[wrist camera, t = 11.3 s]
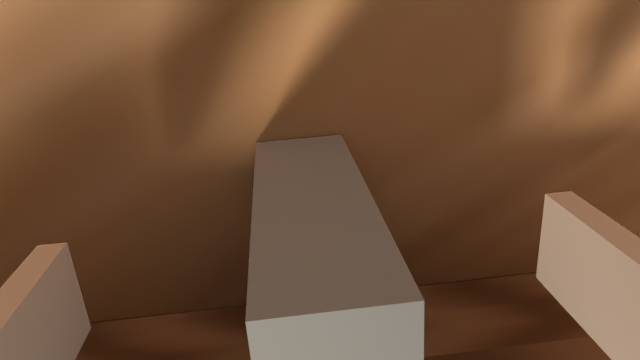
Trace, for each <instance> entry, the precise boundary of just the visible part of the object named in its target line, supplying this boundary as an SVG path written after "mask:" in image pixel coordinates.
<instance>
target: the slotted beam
mask: <svg viewBox="0 0 640 360" xmlns="http://www.w3.org/2000/svg"><path fill="white" fill-rule="evenodd" d="M417 287H418V289H419V291H420V293H421V295H422V297H423V299H424V360H611V359H610V358H609V356H608V355H607V354H606V353H605V352H604V351H603V350H602V349H601V348H600V347H599V346H598V344H597V343H596V342H595V341H594V340H593V339H592V338H591V337H590V336H589V335H588V334H587V332H586V331H585V330H584V329H583V328H582V327H581V326H580V325H579V324H578V323H577V322H576V320H575V319H574V318H573V317H572V316H571V315H570V314H569V313H568V312H567V311H566V310H565V308H564V307H563V306H562V305H561V304H560V303H559V302H558V301H557V300H556V299H555V298H554V296H553V295H552V294H551V293H550V292H549V291H548V290H547V289H546V288H545V287H544V286H543V284H542V283H541V282H540V281H539V280H538V279H537V278H536V273H530V274H521V275H512V276H503V277H495V278H486V279H477V280H468V281H459V282H450V283H441V284H433V285H424V286H417ZM245 318H246V306H238V307H229V308H220V309H211V310H202V311H193V312H184V313H176V314H167V315H158V316H149V317H140V318H131V319H122V320H114V321H105V322H96V323H90V325H91V329H90V331H89V333H88V335H87V337H86V339H85V341H84V343H83V345H82V347H81V349H80V351H79V353H78V355H77V357H76V359H75V360H251V357H250V350H249V343H248V337H247V330H246V323H245Z"/></svg>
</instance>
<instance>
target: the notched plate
mask: <svg viewBox="0 0 640 360" xmlns="http://www.w3.org/2000/svg"><path fill="white" fill-rule="evenodd" d="M245 323H246V330H247V337H248V343H249V350H250V357H251V360H424V299H423V297H422V295H421V293H420V291H419V289H418V287H417V285H416V283H415V281H414V279H413V277H412V275H411V273H410V271H409V269H408V267H407V265H406V263H405V261H404V259H403V257H402V255H401V253H400V251H399V249H398V247H397V245H396V243H395V241H394V239H393V237H392V235H391V233H390V231H389V229H388V227H387V225H386V223H385V221H384V219H383V217H382V215H381V213H380V211H379V209H378V207H377V205H376V203H375V201H374V199H373V197H372V195H371V193H370V191H369V189H368V187H367V185H366V183H365V181H364V179H363V177H362V175H361V172H360V170H359V168H358V166H357V164H356V162H355V160H354V158H353V156H352V154H351V152H350V150H349V148H348V146H347V144H346V142H345V140H344V138H343V136H342V134H340V135H330V136H319V137H308V138H298V139H287V140H277V141H266V142H256V150H255V167H254V184H253V201H252V217H251V234H250V251H249V268H248V285H247V302H246V318H245Z"/></svg>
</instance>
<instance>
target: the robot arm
mask: <svg viewBox="0 0 640 360" xmlns="http://www.w3.org/2000/svg"><path fill="white" fill-rule="evenodd" d="M536 278H537V279H538V280H539V281H540V282H541V283H542V284H543V286H544V287H545V288H546V289H547V290H548V291H549V292H550V293H551V294H552V295H553V296H554V298H555V299H556V300H557V301H558V302H559V303H560V304H561V305H562V306H563V307H564V308H565V310H566V311H567V312H568V313H569V314H570V315H571V316H572V317H573V318H574V319H575V320H576V322H577V323H578V324H579V325H580V326H581V327H582V328H583V329H584V330H585V331H586V332H587V334H588V335H589V336H590V337H591V338H592V339H593V340H594V341H595V342H596V343H597V344H598V346H599V347H600V348H601V349H602V350H603V351H604V352H605V353H606V354H607V355H608V356H609V358H610V359H611V360H640V238H639V237H638V236H636V235H635V234H633V233H632V232H630V231H629V230H627V229H626V228H625V227H623V226H622V225H620V224H619V223H617V222H616V221H614V220H613V219H611V218H610V217H608V216H607V215H605V214H604V213H603V212H601V211H600V210H598V209H597V208H595V207H594V206H592V205H591V204H589V203H588V202H586V201H585V200H584V199H582V198H581V197H579V196H578V195H576V194H575V193H573V192H572V191H567V192H557V193H547V194H545V200H544V209H543V218H542V227H541V236H540V245H539V254H538V263H537V272H536ZM90 329H91V325H90V322H89V318H88V315H87V311H86V308H85V304H84V300H83V297H82V293H81V290H80V286H79V283H78V279H77V276H76V272H75V269H74V265H73V261H72V258H71V254H70V251H69V247H68V244H67V242H65V243H55V244H46V245H37V246H36V247H35V248H34V250H33V251H32V252H31V253H30V254H29V255H28V256H27V258H26V259H25V260H24V261H23V262H22V263H21V265H20V266H19V267H18V268H17V269H16V270H15V271H14V273H13V274H12V275H11V276H10V277H9V278H8V280H7V281H6V282H5V283H4V284H3V285H2V286H1V288H0V360H75V359H76V357H77V355H78V353H79V351H80V349H81V347H82V345H83V343H84V341H85V339H86V337H87V335H88V333H89V331H90Z"/></svg>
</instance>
